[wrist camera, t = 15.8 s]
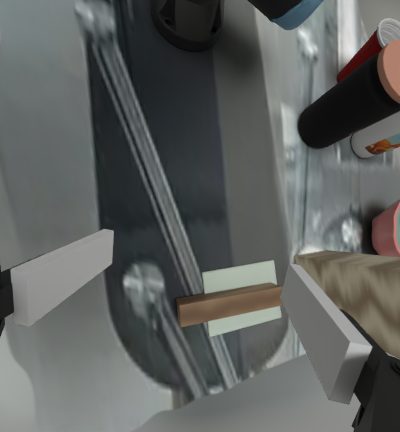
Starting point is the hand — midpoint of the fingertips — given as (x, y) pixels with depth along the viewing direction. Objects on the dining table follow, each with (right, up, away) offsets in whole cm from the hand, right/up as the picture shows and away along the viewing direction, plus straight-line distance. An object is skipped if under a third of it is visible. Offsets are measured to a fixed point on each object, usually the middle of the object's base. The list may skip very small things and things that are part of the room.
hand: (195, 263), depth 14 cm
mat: (+9, -13, +25) cm, 30 cm away
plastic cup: (+40, +40, +38) cm, 68 cm away
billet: (+6, -13, +24) cm, 28 cm away
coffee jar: (+29, +25, +34) cm, 51 cm away
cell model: (+49, -2, +37) cm, 61 cm away
